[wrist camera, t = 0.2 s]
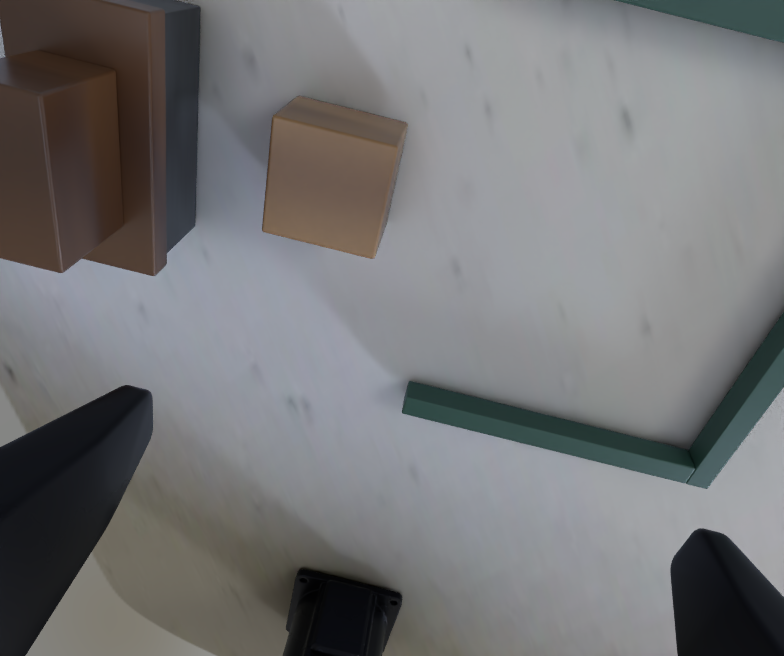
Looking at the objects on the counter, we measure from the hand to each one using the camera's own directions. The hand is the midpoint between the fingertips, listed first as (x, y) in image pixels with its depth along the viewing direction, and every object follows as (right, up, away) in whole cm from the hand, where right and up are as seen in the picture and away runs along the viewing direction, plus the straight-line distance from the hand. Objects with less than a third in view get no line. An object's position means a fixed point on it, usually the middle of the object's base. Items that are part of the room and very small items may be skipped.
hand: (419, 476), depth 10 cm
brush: (-9, +10, +12) cm, 18 cm away
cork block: (-2, +8, +12) cm, 15 cm away
